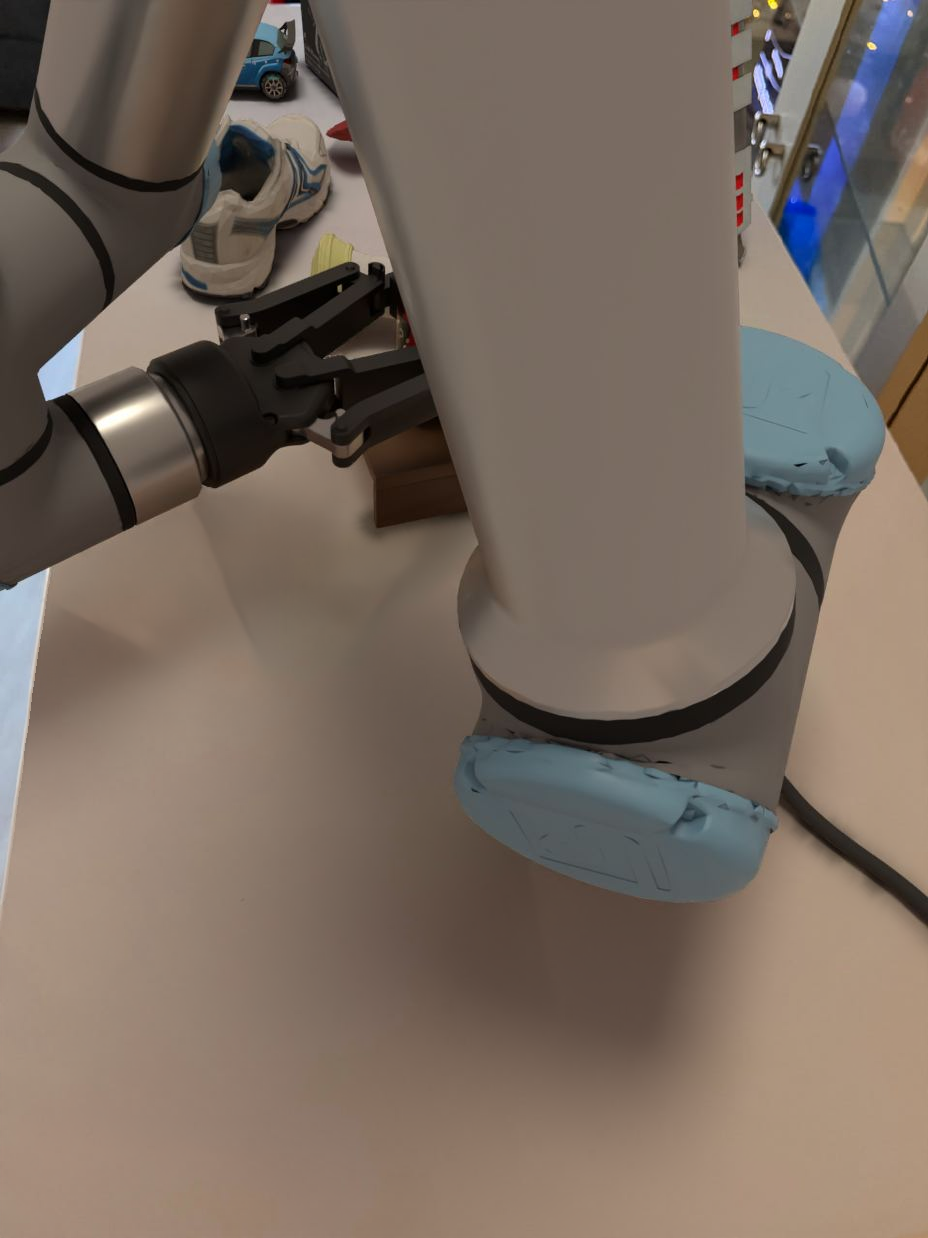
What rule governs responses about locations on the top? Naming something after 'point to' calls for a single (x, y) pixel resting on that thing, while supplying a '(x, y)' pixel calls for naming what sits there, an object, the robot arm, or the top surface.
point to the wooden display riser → (413, 476)
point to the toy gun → (741, 113)
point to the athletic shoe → (255, 202)
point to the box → (314, 46)
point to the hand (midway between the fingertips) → (500, 288)
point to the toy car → (270, 60)
